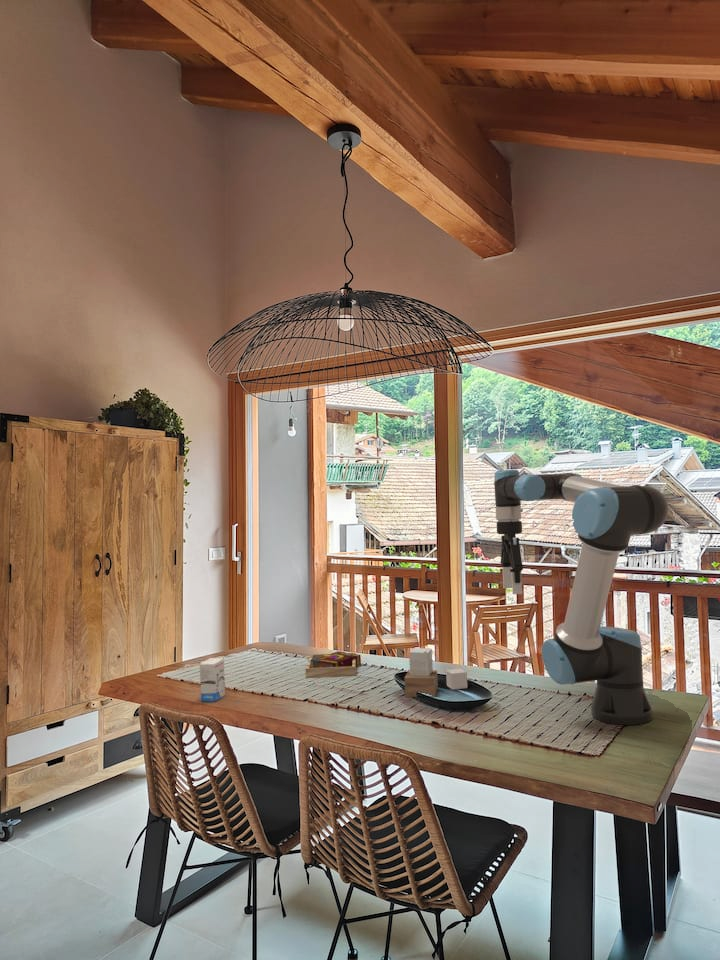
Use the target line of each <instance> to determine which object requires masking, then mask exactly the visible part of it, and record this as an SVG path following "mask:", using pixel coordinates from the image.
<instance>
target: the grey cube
mask: <svg viewBox="0 0 720 960" xmlns="http://www.w3.org/2000/svg"><path fill="white" fill-rule="evenodd" d="M467 673H468V672H467V671H466V670H464V669H462V668H454V669H446V670H445V675H446V676H445V677H446V686H447V687H448V688H449V689H451V690H453V691H454V690H460V689H461V690H462V689H468V674H467Z"/></svg>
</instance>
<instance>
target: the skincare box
mask: <svg viewBox="0 0 720 960" xmlns="http://www.w3.org/2000/svg"><path fill="white" fill-rule="evenodd" d="M408 657H409V660H408V661H409V670H410V676H426V677H429V676H430V674H431V673H432V672H433V670H434V669H433V649H432V648H428V647H427V648H425V647H424V648H423V647H414V648H412V649H411V650H410V651H409V656H408Z"/></svg>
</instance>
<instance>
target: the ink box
mask: <svg viewBox="0 0 720 960" xmlns="http://www.w3.org/2000/svg"><path fill="white" fill-rule="evenodd" d="M199 678H200V679H199V682H200V699H201V702H205V703H206V702H208V703H209V702H210V703H211V702H213V703H214V702H215V703H216V702H218V700H220V699H221V698H223V697H224V696H225V695H226V682H225V679H226V678H225V659H224V658H222V657H219V658H218V657H210V658H208V659H205V660H204V661H201V662H200V664H199Z"/></svg>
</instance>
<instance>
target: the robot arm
mask: <svg viewBox="0 0 720 960" xmlns="http://www.w3.org/2000/svg"><path fill="white" fill-rule="evenodd" d="M493 485H494V498H495V499H494V500H495V519H496V520H497V522H496V533H497V534H498V535H501V537H500V538H501V549H500V565H501V567H502V586H503V587H502V588H503V589H512V590H511V591H512V595H522V594H523V580H522V577H523V576H522V571H523V570H524V566H523V560H522V554H521V548H520V538H519V537H517V536H516V535H518V534H522V533H523V522H522V521H521V519H522V513H523V511H524V510H523V509H522V507H521V506H522V504H521V502H533V501H544V500H547V501H548V500H550V501H551V500H564V501H566V502H571V503H574V504H573V508H572V512H571V519H572V520H573V522H572V525H573V528H574V529H573V530H574V531H575V532H576V533H577V538H578V540H579V541H580V542H581V543H582V545H581V549H580V553H579V558H578V561H577V562H578V563H577V567H576V571H575V575H574V580H573V583H572V587H571V592H570V596H569V601H568V605H567V610H566V613H565V616H564V617H565V618H564V622H561V623H560V624H559V625H557V626H556V630H555V634H554V637H553V638H548V639H547V640H544V642H543V643H542V646H541V658H542V662H543V665H544V668H545V670H546V672H547V674H548V676H549V677H550V678H551V679H552V681H554V682H555V683H556V684H559V685H575V684H581V683H587V682H593V681H596V687H595V688H596V689H595V691H594V694H593V699H592V702H591V704H590V705H591V706H590V709H591V710H590V711H591V714H590V715H591V716H592V718H594V719H596V720H598V721H601V722H604V723H608V724H612V725H621V726H622V725H623V726H633V725H642V724H643V725H644V724H647V723H649V722H651V721H652V720H653V710H652V707H651V704H650V701H649V698H648V696H647V693H646V691H645V688H644V673H643V654H642V653H643V652H642V651H643V647H642V641H641V636H640V634H639V633H638V632H636V631H635V630H632V629H627V628H621V627H614V626H601V625H602V621H603V617H604V613H605V609H606V605H607V601H608V596H609V594H610V589H611V586H612V581H613V578H614V576H615V570H616V566H617V562H618V558H619V554H620V553H623V552H624V551H627V549H628V546H629V544H630V539H631V537H632V536H635V535H638V536H640V535H646V534H651V533H653V532H655V531H657V530H658V529H660V528H661V526H663V525H664V523H665V521H666V520H667V518H668V515H669V503H668V501H667V499H666V497H665V496H664V495H663V493H662V492H661V491H660V490H658V489H657V488H654V487H651V486H647V485H637V484H633V485H632V484H631V485H629V486H624V485H619V484H614V483H609V482H604V481H600V480H595V479H592V478H587V477H582V476H581V474H580V473H576V472H575V473H572V472H565V473H550V474H549V473H545V474H544V473H543V474H541V473H540V474H533V473H526V474H520V471H519V470H518V469H502V470H501V469H500V470H496V471H495V472H494V481H493Z"/></svg>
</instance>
